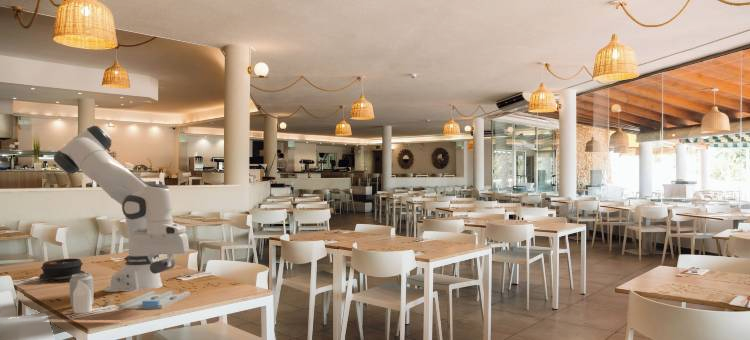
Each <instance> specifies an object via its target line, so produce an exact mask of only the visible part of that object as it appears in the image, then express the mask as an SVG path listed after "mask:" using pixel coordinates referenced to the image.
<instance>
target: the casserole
mask: <svg viewBox="0 0 750 340" xmlns="http://www.w3.org/2000/svg"><path fill="white" fill-rule="evenodd" d="M83 264H84V263H83V262H82V260H81V259H80V258H62V259H61V258H60V259H55V260H49V261H44V262H43V263H42V266H41V267H40V269H41V270H42V272H43V273H40V274H39V277H38V279H41V280H47V281H49V280H53V281H52V282H59V281H58V280H63V281H69V280H70V279H71V278H72V275H74V274H80V273H86V272H85V271H84V270H82V266H83ZM68 279H69V280H68Z"/></svg>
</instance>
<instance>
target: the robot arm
mask: <svg viewBox="0 0 750 340" xmlns="http://www.w3.org/2000/svg"><path fill="white" fill-rule="evenodd" d="M111 146H112V139H111V135H110V134H109V133H108V131H107V130H106V129H104V128H102V127H99V126H98V125H92V126H90V127H88V128H86V130H84V131H81V133H79V134H77V135H75V136H74V137H73V138H72V139H71V140H70V141H68V142H67V143H66V144H65V145H64V146H63V147H61V149H60V150H57V152H55V154H54V155H53V161H54V163H55V165H56V167H57V168H58V169H59V170H60V171H62V172H63V173H67V174H69V175H74V174H76V173H79V171H81V172H82V173H83V174H84V175H85V176H86V177H88V178H89V179H90V180H93V182H95V183H96V184H97V185H98V186H99V187H100V188H101V189H102V190H103V191H104V192H105V193H106V194H107V195H108V196H109V197H110V198H111V199H112V200H114V201H116V202H117V203H119V204H120V205H121V209H122V210H121V211H122V213H123V215H124V216H125V224H126V229H127V233H128V235H127V237H128V255H127V256H126V257H123V262H125V264H124V265H123V266H122V267H120V269H118V270H117V271H116V272H115V273H113V275H111V278H110V285H108V286H107V287H105V288H104V292H106V293H108V292H109V293H116V292H119V291H124V292H126V291H127V292H135V291H141V290H149V289H160V288H162V287H164V285H163V283H162V278H161V274H160V273H161V272H160V273H157V274H154V273H152V272H151V271H150V265H151V264H152V263H154V262H157V261H160V255H167V258H168V260H167V261H166V262H165V267H170V266H171V261H172V259H174V257H175V255H185V254H187V253H188V251H190V250H189V248H190V245H189V243H190V242H189V237H188V235H187V233H186V232H187V227H186V226H185V225H181V224H180V223H176V222H174V220H173V219H174V218H173V216H172V215H173V214H172V210H173V198H172V192H171V189H170V187H169V186H168V185H166V184H163V183H150V184H148V183H147V182H145V181H144V180H143V179H142V178H140V177H139V176H138V175H136V174H135V172H133V171H131V170H130V169H128V168H127V167H126V166H124V165H123V164H121V163H120V162H119V161H117V160H116V158H114V157H113V156H111V154H110V152H111V150H110V149H111ZM107 151H108V152H107Z"/></svg>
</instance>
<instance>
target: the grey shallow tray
mask: <svg viewBox="0 0 750 340" xmlns="http://www.w3.org/2000/svg"><path fill="white" fill-rule="evenodd" d="M155 293H156V292H155V291H149V292H146V293H144V294H142V295H139V296H137V297H135V298H132V299H130V300H127V301H124V302H123V303H120V304H119V305H118V306H119V307H118V308H119V309H144V310H145V309H147V310H148V309H150V310H151V309H154V310H155V309H156V310H158V309H161V310H162V309H164V308H167V307H168V306H170V305H173V304H174V303H176V302H178V301H180V300H182V299H185V298H186V297H189V296H190V295H191V292H190V291H188V290H187V291H184V292H182V293H180V294H178V293H177V294H175V293H174V294H173V291H169V290H168V291H166V292H164V293H159V294H155Z"/></svg>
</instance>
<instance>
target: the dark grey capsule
mask: <svg viewBox="0 0 750 340" xmlns="http://www.w3.org/2000/svg"><path fill="white" fill-rule="evenodd" d="M168 258H169V257H167V258H163V259H161V260H159V261H157V262H154V263H152V264H151V265H150V271H151V272H152V273H154V274H157V273H162V272H164V271H167V270H170V269H173V268H174V267H175V266H176V261H175V259H174V258H173V259H172V261H171V266H170V267H165V262H166V261H167V260H168Z"/></svg>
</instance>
